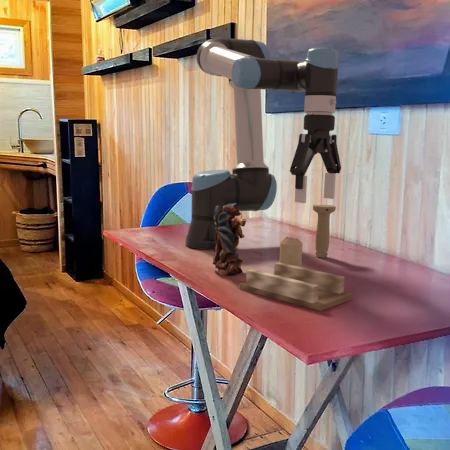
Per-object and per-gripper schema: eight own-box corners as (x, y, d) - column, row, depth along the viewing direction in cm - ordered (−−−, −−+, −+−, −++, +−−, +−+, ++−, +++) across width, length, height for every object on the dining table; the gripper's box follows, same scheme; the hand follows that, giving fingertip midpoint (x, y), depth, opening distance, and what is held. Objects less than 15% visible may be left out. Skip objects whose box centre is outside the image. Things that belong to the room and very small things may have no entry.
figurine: (258, 269, 147) (256, 200, 144) (246, 278, 138) (244, 205, 136) (220, 267, 151) (217, 200, 148) (206, 275, 143) (203, 204, 140)
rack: (239, 288, 129) (240, 268, 129) (271, 279, 138) (272, 260, 137) (320, 311, 115) (321, 288, 114) (351, 299, 123) (352, 278, 123)
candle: (304, 275, 143) (306, 236, 141) (295, 280, 138) (297, 240, 136) (284, 272, 145) (286, 234, 144) (275, 276, 141) (276, 237, 139)
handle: (334, 258, 163) (338, 207, 160) (313, 259, 162) (316, 207, 159) (329, 255, 167) (332, 204, 165) (308, 255, 166) (310, 204, 164)
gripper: (304, 112, 126) (300, 206, 130) (357, 116, 145) (352, 198, 149) (277, 112, 131) (273, 202, 135) (331, 116, 150) (327, 195, 153)
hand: (315, 200), depth 142 cm, fingers open, 13 cm apart
